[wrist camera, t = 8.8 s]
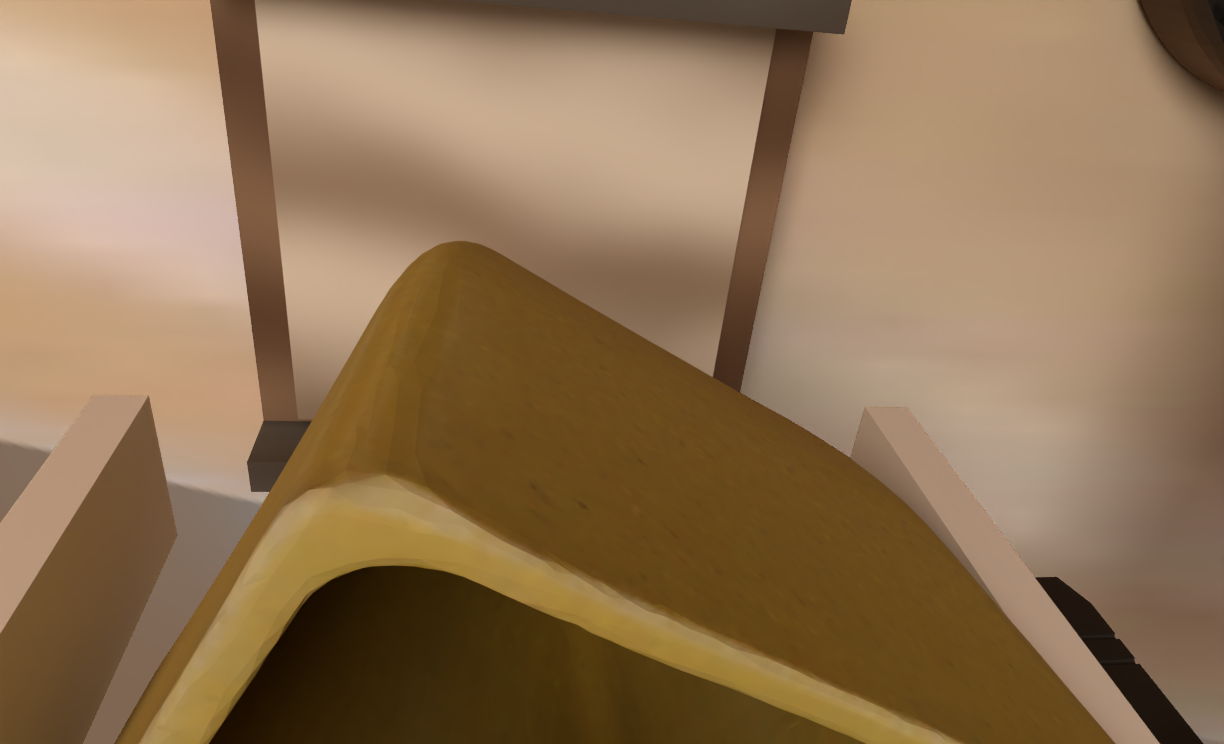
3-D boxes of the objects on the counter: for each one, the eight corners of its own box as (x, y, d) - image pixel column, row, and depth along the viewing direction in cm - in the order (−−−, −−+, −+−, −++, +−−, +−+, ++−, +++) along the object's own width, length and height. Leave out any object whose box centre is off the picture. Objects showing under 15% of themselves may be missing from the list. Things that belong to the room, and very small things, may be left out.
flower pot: (184, 505, 15) (-125, 1161, 8) (424, 79, 12) (309, 477, 4) (593, 659, 19) (663, 1225, 11) (867, 359, 15) (1238, 862, 8)
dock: (184, -557, 17) (80, -695, 13) (860, -439, 19) (966, -522, 15) (287, 394, 28) (251, 491, 24) (707, 402, 30) (742, 492, 26)
